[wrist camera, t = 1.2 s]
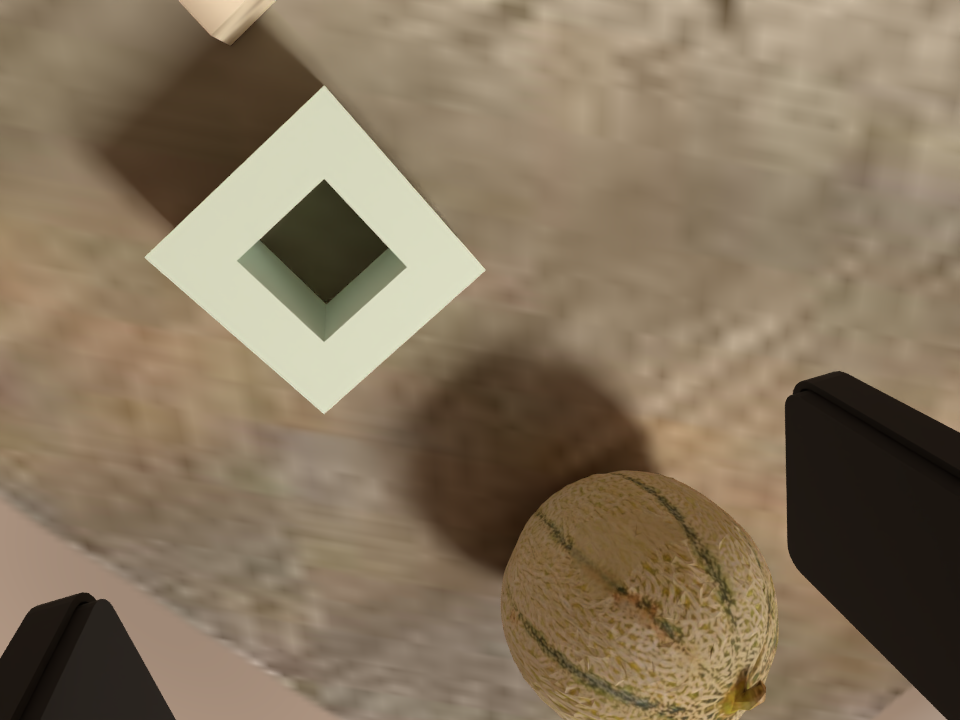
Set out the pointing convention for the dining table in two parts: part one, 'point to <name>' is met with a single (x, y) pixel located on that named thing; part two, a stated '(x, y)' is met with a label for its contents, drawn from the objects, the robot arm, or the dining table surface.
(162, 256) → the block
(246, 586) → the dining table surface
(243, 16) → the socket block
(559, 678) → the cantaloupe
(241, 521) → the dining table surface
